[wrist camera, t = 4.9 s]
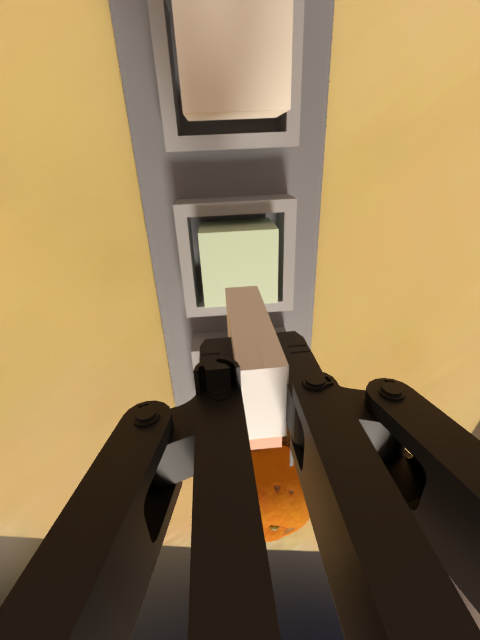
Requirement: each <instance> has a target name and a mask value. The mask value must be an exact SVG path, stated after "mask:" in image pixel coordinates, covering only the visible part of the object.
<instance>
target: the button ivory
mask: <svg viewBox="0 0 480 640" xmlns="http://www.w3.org/2000/svg"><path fill="white" fill-rule="evenodd" d="M171 1H172V11H173V21H174V31H175V40H176V50H177V60H178V70H179V80H180V90H181V100H182V110H183V114H184V116H185V117H186V119H187V120H188V121H205V120H231V119H257V118H276V117H278V116H280V115H282V114H283V113H285V112H287V111H289V110H290V109H291V75H292V36H293V0H171Z"/></svg>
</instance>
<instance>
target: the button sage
mask: <svg viewBox="0 0 480 640" xmlns="http://www.w3.org/2000/svg"><path fill="white" fill-rule="evenodd" d="M198 242H199V252H200V263H201V273H202V283H203V294H204V304H205V308H210V307H225V306H226V296H225V288H232V287H246V286H257V287H258V289H259V292H260V294H261V297H262V299H263V302H264V304H269V303H278V251H279V229H278V228H277V226H276V225H275V224H274V223H273V222H272V221H271V220H270V219H269V218H255V219H237V220H219V221H200V223H199V229H198Z"/></svg>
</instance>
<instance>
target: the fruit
mask: <svg viewBox="0 0 480 640" xmlns="http://www.w3.org/2000/svg"><path fill="white" fill-rule="evenodd" d="M251 454H252V461H253V467H254V473H255V480H256V486H257V492H258V499H259V505H260V511H261V518H262V524H263V530H264V537H265V542H271V541H275V540H278V539H280V538H282V537H284V536H286V535H289V534H291V533H293V532H295V531H297V530H298V529H300V528H301V527H302V526H304V525H305V524H306V522H307V521H308V520H309V518H310V516H309V512H308V509H307V505H306V502H305V498H304V495H303V491H302V488H301V484H300V481H299V477H298V474H297V470H296V467H295V463H294V460H293V466H290V447H287V446H285V445H282V447H277V448H266V449H255V450H251Z"/></svg>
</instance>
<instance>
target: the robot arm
mask: <svg viewBox="0 0 480 640" xmlns="http://www.w3.org/2000/svg"><path fill="white" fill-rule="evenodd" d="M225 296H226V311H227V327H228V337H225V338H213V339H205V340H204V342H203V343H202V344H201V346H200V357H199V363H198V364H197V365H196V366H195V368H194V370H193V374H194V382H195V390H196V395H195V396H194V397H193V398H192V399H191V400H190V401H188V402H186V403H185V404H182V405H180V406H177V407H174V408H171V409H170V408H169V406H168V405H166V404H165V403H164V402H159V401H146V402H142V403H139V404H137V405H135V406H133V407H132V408H130V409H129V410H128V411H127V412H126V413H125V414H124V415H123V417H122V418H121V420H120V421H119V423H118V424H117V426H116V428H115V429H114V431H113V432H112V434H111V435H110V437H109V438H108V440H107V442H106V443H105V445H104V446H103V448H102V449H101V451H100V453H99V454H98V456H97V457H96V459H95V460H94V462H93V463H92V465H91V467H90V468H89V470H88V471H87V473H86V474H85V476H84V477H83V479H82V481H81V482H80V484H79V485H78V487H77V488H76V490H75V491H74V493H73V495H72V496H71V498H70V499H69V501H68V502H67V504H66V505H65V507H64V509H63V510H62V512H61V513H60V515H59V516H58V518H57V519H56V521H55V523H54V524H53V526H52V527H51V529H50V530H49V532H48V534H47V535H46V537H45V538H44V540H43V541H42V543H41V544H40V546H39V548H38V550H37V551H36V552H35V554H34V555H33V557H32V558H31V560H30V562H29V563H28V565H27V566H26V568H25V569H24V571H23V572H22V574H21V576H20V577H19V579H18V580H17V582H16V583H15V585H14V587H13V588H12V590H11V591H10V593H9V595H8V596H7V597H6V599H5V601H4V602H3V604H2V605H1V607H0V640H131V636H132V634H133V630H134V628H135V625H136V622H137V618H138V616H139V612H140V610H141V606H142V603H143V600H144V598H145V595H146V591H147V589H148V586H149V583H150V580H151V577H152V574H153V571H154V567H155V564H156V561H157V558H158V556H159V553H160V550H161V546H162V544H163V541H164V538H165V535H166V532H167V529H168V526H169V522H170V519H171V516H172V513H173V510H174V507H175V504H176V501H177V498H178V495H179V492H180V489H181V486H182V481H183V480H185V479H188V478H190V477H192V476H193V502H192V532H191V562H190V563H191V564H190V593H189V594H190V595H189V623H188V640H281V638H280V632H279V625H278V619H277V613H276V606H275V600H274V594H273V587H272V581H271V575H270V568H269V562H268V556H267V549H266V543H265V537H264V530H263V524H262V518H261V511H260V505H259V499H258V492H257V486H256V480H255V473H254V467H253V461H252V454H251V448H250V442H249V440H252V439H262V438H271V437H281V436H287V425H288V429H289V432H290V435H291V436H290V466H293V460H294V463H295V467H296V470H297V474H298V477H299V481H300V484H301V488H302V491H303V495H304V498H305V502H306V505H307V509H308V512H309V516H310V519H311V523H312V526H313V530H314V533H315V537H316V540H317V544H318V547H319V551H320V554H321V557H322V561H323V565H324V568H325V572H326V575H327V579H328V582H329V586H330V589H331V593H332V596H333V600H334V603H335V607H336V610H337V614H338V617H339V621H340V624H341V628H342V631H343V635H344V638H345V640H480V630H479V628H478V626H477V624H476V623H475V621H474V619H473V618H472V616H471V614H470V612H469V610H468V609H467V607H466V606H465V604H464V602H463V600H462V598H461V597H460V595H459V593H458V591H457V590H456V588H455V586H454V584H453V583H452V581H451V579H452V580H453V581H454V582H455V584H456V585H457V586H458V588H459V589H460V590H461V591H462V592H463V594H464V595H465V596H466V597H467V599H468V600H469V601H470V602H471V604H472V605H473V606H474V607H475V609H476V610H477V611H478V612H479V613H480V440H478V439H477V438H476V437H475V436H473V435H472V434H471V433H469V432H468V431H467V430H465V429H464V428H463V427H462V426H460V425H459V424H458V423H456V422H455V421H454V420H453V419H451V418H450V417H449V416H447V415H446V414H445V413H443V412H442V411H441V410H440V409H438V408H437V407H436V406H434V405H433V404H432V403H430V402H429V401H428V400H427V399H425V398H424V397H423V396H421V395H420V394H419V393H417V392H416V391H415V390H414V389H412V388H411V387H410V386H408V385H406V384H404V383H403V382H400V381H397V380H394V379H387V378H380V379H375V380H373V381H371V382H369V384H368V385H367V387H366V391H365V390H357V389H350V388H345V387H341V386H339V385H338V383H337V381H336V380H335V379H334V378H333V377H332V376H330V375H328V374H327V373H324V372H322V370H321V368H320V367H319V365H318V363H317V361H316V359H315V357H314V356H313V354H312V352H311V350H310V348H309V346H308V344H307V343H306V341H305V339H304V337H303V336H301V335H300V334H299V333H297V332H296V331H288V332H275V329H274V327H273V324H272V322H271V319H270V317H269V314H268V312H267V309H266V307H265V304H264V302H263V299H262V297H261V294H260V292H259V289H258V287H257V286H246V287H232V288H225ZM405 448H406V449H407V450H408V451H409V452H410V453H411V454H412V455H411V454H410V453H408V452H407V451H406V450H405ZM448 575H449V576H450V577H449V576H448ZM450 578H451V579H450Z"/></svg>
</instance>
